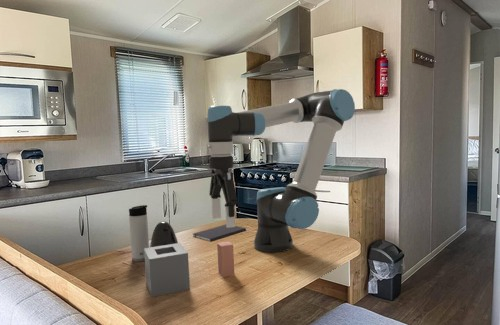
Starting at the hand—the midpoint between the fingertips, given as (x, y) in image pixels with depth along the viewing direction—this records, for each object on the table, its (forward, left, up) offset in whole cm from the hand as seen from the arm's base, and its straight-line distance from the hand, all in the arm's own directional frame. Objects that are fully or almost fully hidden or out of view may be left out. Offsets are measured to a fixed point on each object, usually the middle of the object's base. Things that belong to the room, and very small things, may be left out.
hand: (223, 222), depth 119 cm
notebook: (-14, -47, -18) cm, 52 cm away
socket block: (+19, 0, -17) cm, 25 cm away
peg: (0, 0, -17) cm, 17 cm away
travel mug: (+23, -29, -17) cm, 41 cm away
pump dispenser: (+16, -19, -17) cm, 30 cm away
